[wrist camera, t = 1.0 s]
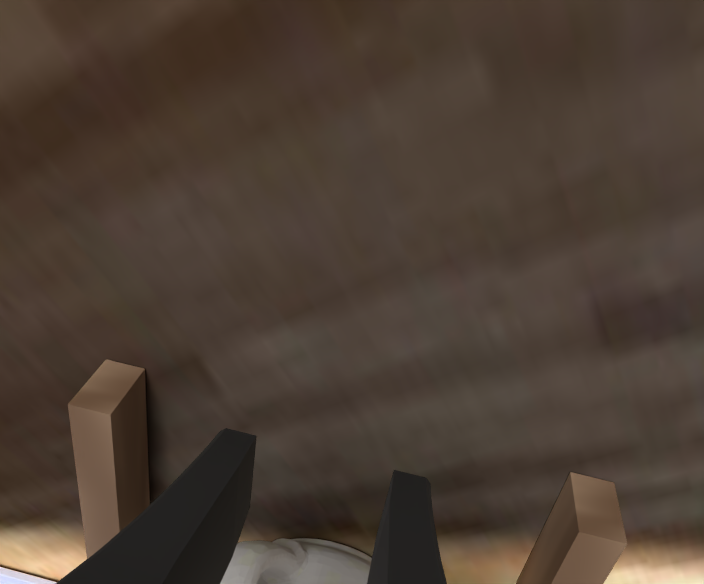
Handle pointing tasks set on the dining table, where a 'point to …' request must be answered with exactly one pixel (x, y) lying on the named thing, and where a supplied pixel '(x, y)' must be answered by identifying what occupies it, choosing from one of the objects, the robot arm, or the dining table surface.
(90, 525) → the tray
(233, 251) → the dining table surface
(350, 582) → the teacup
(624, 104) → the dining table surface
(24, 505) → the dining table surface
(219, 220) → the dining table surface
